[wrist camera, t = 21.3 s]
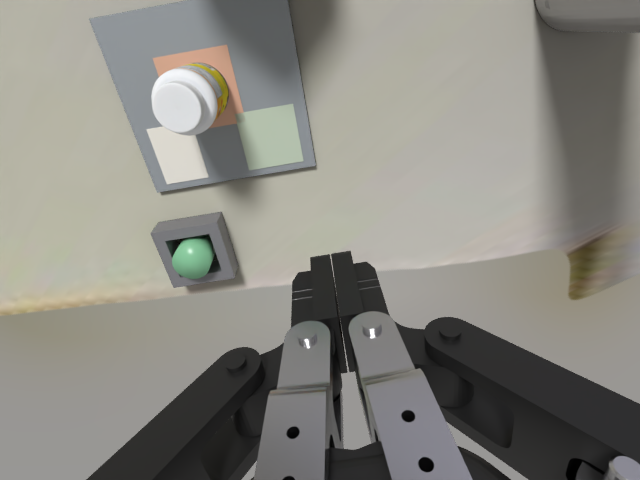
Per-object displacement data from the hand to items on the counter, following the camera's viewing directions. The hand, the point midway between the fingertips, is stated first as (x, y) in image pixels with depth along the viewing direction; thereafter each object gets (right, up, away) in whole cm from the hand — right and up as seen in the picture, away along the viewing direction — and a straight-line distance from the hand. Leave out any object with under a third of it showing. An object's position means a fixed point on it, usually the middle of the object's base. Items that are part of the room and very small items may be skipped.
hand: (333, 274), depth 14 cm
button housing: (-16, +1, +35) cm, 39 cm away
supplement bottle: (-13, +17, +26) cm, 34 cm away
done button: (-16, 0, +35) cm, 38 cm away
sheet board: (-12, +16, +27) cm, 34 cm away
